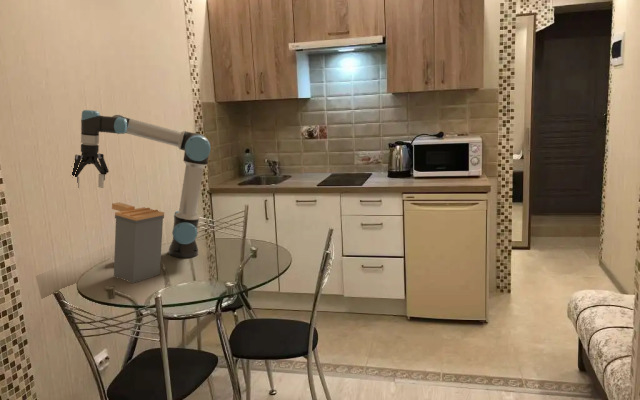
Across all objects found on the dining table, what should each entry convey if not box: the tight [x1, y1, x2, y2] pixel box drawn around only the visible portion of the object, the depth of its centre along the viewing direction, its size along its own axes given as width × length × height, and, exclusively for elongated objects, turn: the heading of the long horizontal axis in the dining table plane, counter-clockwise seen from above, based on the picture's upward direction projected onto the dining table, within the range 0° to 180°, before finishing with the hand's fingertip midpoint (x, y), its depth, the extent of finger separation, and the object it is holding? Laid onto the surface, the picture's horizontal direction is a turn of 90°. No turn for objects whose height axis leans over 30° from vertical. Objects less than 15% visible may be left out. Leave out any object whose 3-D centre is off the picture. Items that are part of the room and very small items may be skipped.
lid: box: [111, 202, 165, 221], centre depth 229 cm, size 22×17×2 cm
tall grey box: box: [113, 214, 165, 284], centre depth 230 cm, size 13×17×28 cm
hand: (88, 189), depth 240 cm, fingers open, 13 cm apart
